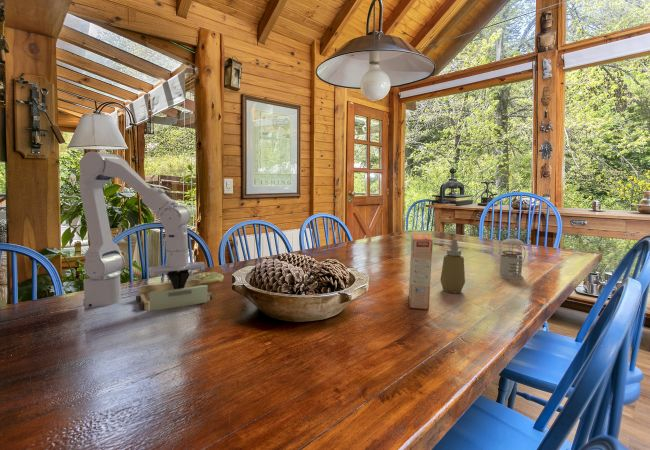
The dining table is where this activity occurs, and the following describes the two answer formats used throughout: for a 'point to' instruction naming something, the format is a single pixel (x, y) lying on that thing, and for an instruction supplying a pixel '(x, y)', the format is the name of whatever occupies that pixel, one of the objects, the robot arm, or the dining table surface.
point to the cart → (146, 289)
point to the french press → (511, 260)
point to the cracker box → (420, 270)
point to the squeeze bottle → (453, 270)
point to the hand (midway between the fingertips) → (178, 297)
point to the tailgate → (178, 297)
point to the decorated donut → (209, 277)
